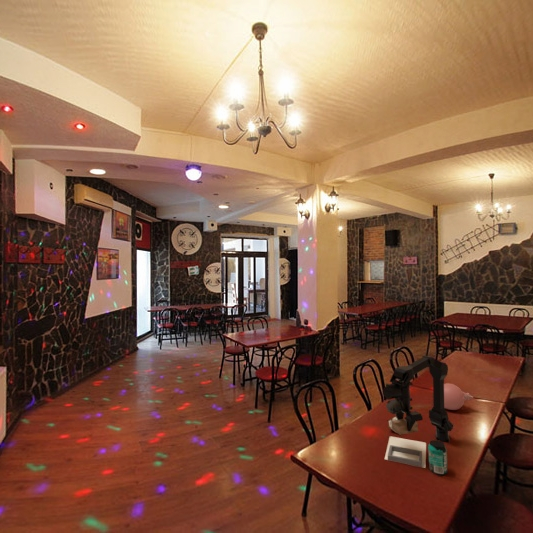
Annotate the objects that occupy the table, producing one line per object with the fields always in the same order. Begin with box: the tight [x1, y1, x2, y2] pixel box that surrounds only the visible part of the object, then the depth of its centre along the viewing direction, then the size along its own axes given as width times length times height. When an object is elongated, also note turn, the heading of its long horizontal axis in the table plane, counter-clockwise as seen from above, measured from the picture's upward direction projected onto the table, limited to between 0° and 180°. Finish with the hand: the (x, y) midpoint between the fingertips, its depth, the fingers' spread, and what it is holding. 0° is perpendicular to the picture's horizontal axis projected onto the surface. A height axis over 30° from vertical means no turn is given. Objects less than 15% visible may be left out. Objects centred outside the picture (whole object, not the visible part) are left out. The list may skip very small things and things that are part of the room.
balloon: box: [444, 382, 474, 411], centre depth 202 cm, size 15×20×15 cm
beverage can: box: [427, 439, 449, 477], centre depth 141 cm, size 7×7×12 cm
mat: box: [384, 435, 427, 469], centre depth 157 cm, size 23×17×3 cm
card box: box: [391, 418, 419, 436], centre depth 156 cm, size 10×6×4 cm, turn 104°
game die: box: [387, 415, 398, 434], centre depth 176 cm, size 9×8×10 cm
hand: (404, 428), depth 156 cm, fingers closed on card box, 6 cm apart
